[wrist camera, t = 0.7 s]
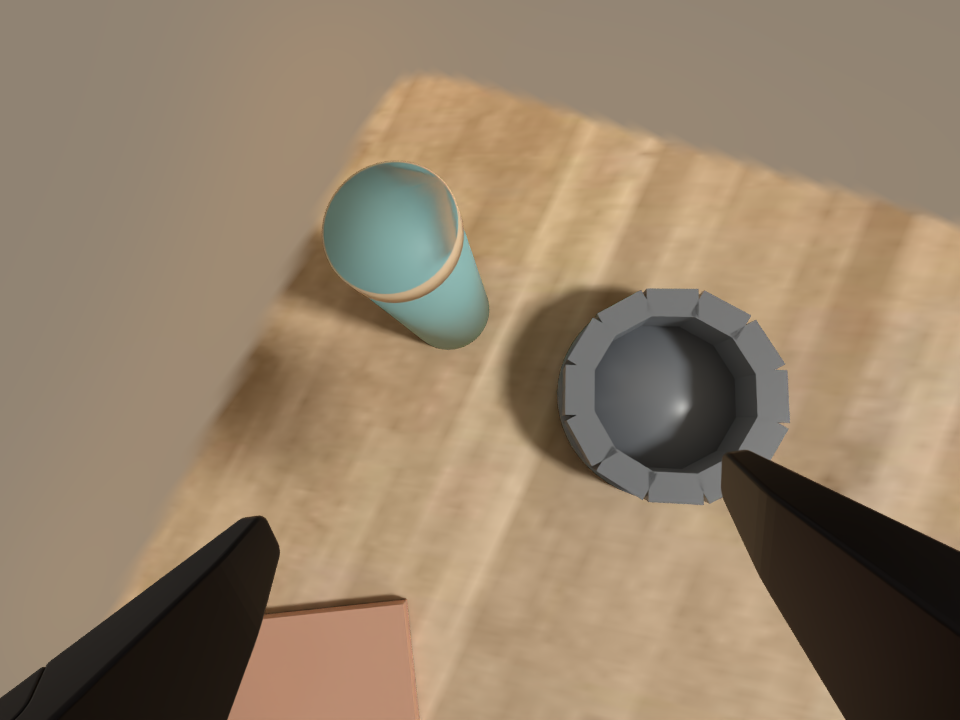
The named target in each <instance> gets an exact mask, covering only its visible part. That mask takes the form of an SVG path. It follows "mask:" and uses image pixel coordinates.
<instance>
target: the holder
mask: <svg viewBox="0 0 960 720" xmlns="http://www.w3.org/2000/svg"><path fill="white" fill-rule="evenodd" d="M750 317H751V315H749V314H747V313H746V312H744V311H742V310H740V309H738V308H736V307H734V306H732V305H731V304H729V303H727V302H725V301H723V300H721V299H719V298H718V297H716V296H714V295H712V294H710V293H708V292H706V291H703V292H702V293H701V294H699V293H698V289H646V290H645V291H644V292H643V293H642V291H641V290H640V291H638V292H636V293H635V294H633V295H631V296H629V297H627V298H625V299H623V300H622V301H620V302H618V303H616V304H614V305H612V306H610V307H609V308H607V309H605V310H603V311H601V312H599V313H597V315H596V316H595V318H592V320H591V322H590V323H589V324H588V325H587V326H586V327H585V328H584V329H583V330H582V331H581V332H580V333H579V335H578V336H577V338H576V339H575V340H574V342H573V343H572V345H571V347H570V349H569V351H568V352H567V354H566V356H565V359H564V361H563V364H562V367H561V370H560V375H559V379H558V389H557V400H558V410H559V415H560V420H561V423H562V426H563V429H564V432H565V434H566V436H567V438H568V440H569V443H570V444H571V446H572V447H573V449H574V450H575V452H576V454H577V455H578V456H579V457H580V459H581V460H582V461H583V462H584V463H585V464H586V465H587V466H588V467H589V468H590V469H591V470H592V471H593V472H594V473H595V474H596V475H598V476H599V477H601V478H602V479H603V480H605V481H606V482H607V483H609V484H611V485H613V486H614V487H616V488H618V489H620V490H622V491H625V492H627V493H630V494H632V495H635V496H637V497H639V498H640V499H642V500H643V498H644V499H645V500H647V501H648V502H659V503H677V504H695V505H704V501H705V502H707V503H712V502H714V501H716V500H718V499H720V498H722V493H721V468H722V457H723V454H724V453H726V452H730V451H737V450H749V451H752V452H754V453H756V454H758V455H760V456H762V457H764V458H766V459H769V460H771V458H772V457H773V455H774V453H775V451H776V450H777V448H778V446H779V445H780V443H781V441H782V439H783V438H784V436H785V434H786V432H787V431H788V428H786V427H784V426H783V425H781V424H779V423H790V414H789V394H788V373H787V370H775V369H777V368H779V367H781V366H783V365H785V363H784V361H783V360H782V358H781V357H780V355H779V354H778V352H777V351H776V349H775V348H774V346H773V345H772V343H771V342H770V340H769V339H768V337H767V336H766V334H765V333H764V331H763V330H762V328H761V327H760V325H759V324H758V322H757V321H756V320H754V321H752V322H750V323H748V324H747V322H748V320H749V319H750Z"/></svg>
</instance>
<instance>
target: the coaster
mask: <svg viewBox="0 0 960 720" xmlns="http://www.w3.org/2000/svg"><path fill="white" fill-rule="evenodd" d="M228 720H419V710H418V701H417V691H416V682H415V672H414V663H413V653H412V644H411V634H410V625H409V615H408V606H407V599H405V600H396V601H386V602H377V603H368V604H358V605H349V606H340V607H331V608H321V609H312V610H303V611H293V612H284V613H275V614H265V615H264V617H263V621H262V624H261V628H260V631H259V634H258V637H257V640H256V643H255V646H254V649H253V651H252V654H251V657H250V660H249V662H248V665H247V668H246V671H245V673H244V676H243V679H242V681H241V684H240V687H239V690H238V692H237V695H236V698H235V701H234V703H233V706H232V709H231V711H230V714H229V717H228Z"/></svg>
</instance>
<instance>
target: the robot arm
mask: <svg viewBox="0 0 960 720" xmlns="http://www.w3.org/2000/svg"><path fill="white" fill-rule="evenodd" d="M721 493H722V497H723V499H724V502H725V504H726V506H727V508H728V510H729V513H730V515H731V517H732V519H733V521H734V523H735V525H736V528H737V530H738V532H739V534H740V536H741V538H742V541H743V543H744V545H745V547H746V549H747V551H748V553H749V556H750V558H751V560H752V562H753V564H754V566H755V568H756V570H757V572H758V574H759V576H760V578H761V580H762V582H763V583H764V585H765V587H766V589H767V590H768V592H769V594H770V595H771V597H772V599H773V600H774V602H775V604H776V605H777V607H778V609H779V610H780V612H781V614H782V615H783V617H784V618H785V620H786V622H787V623H788V625H789V627H790V628H791V630H792V632H793V633H794V635H795V637H796V638H797V640H798V642H799V643H800V645H801V647H802V648H803V650H804V652H805V653H806V655H807V657H808V658H809V660H810V662H811V663H812V665H813V667H814V668H815V670H816V672H817V673H818V675H819V677H820V678H821V680H822V682H823V683H824V685H825V686H826V688H827V690H828V691H829V693H830V695H831V696H832V698H833V700H834V701H835V703H836V705H837V706H838V708H839V710H840V711H841V713H842V715H843V716H844V718H845V720H960V551H958V550H956V549H954V548H952V547H950V546H948V545H946V544H943V543H941V542H939V541H937V540H935V539H933V538H931V537H929V536H927V535H925V534H923V533H921V532H918V531H916V530H914V529H912V528H910V527H908V526H906V525H904V524H902V523H900V522H898V521H896V520H893V519H891V518H889V517H887V516H885V515H883V514H881V513H879V512H877V511H875V510H873V509H871V508H869V507H866V506H864V505H862V504H860V503H858V502H856V501H854V500H852V499H850V498H848V497H846V496H844V495H841V494H839V493H837V492H835V491H833V490H831V489H829V488H827V487H825V486H823V485H821V484H819V483H816V482H814V481H812V480H810V479H808V478H806V477H804V476H802V475H800V474H798V473H796V472H794V471H791V470H789V469H787V468H785V467H783V466H781V465H779V464H777V463H775V462H773V461H771V460H769V459H766V458H764V457H762V456H760V455H758V454H756V453H754V452H752V451H749V450H737V451H730V452H726V453H724V454H723V457H722V468H721ZM279 555H280V549H279V544H278V542H277V540H276V538H275V536H274V534H273V532H272V530H271V527H270V525H269V523H268V521H267V520H266V518H264V517H263V516H252V517H245V518H242V519H240V520H239V521H237V522H236V523H235V524H233V525H232V526H231V527H229V528H228V529H227V530H225V531H224V532H223V533H221V534H220V535H218V536H217V537H216V538H214V539H213V540H212V541H210V542H209V543H208V544H206V545H205V546H204V547H202V548H201V549H200V550H198V551H197V552H196V553H194V554H193V555H192V556H190V557H189V558H188V559H186V560H185V561H184V562H182V563H181V564H180V565H178V566H177V567H176V568H174V569H173V570H172V571H170V572H169V573H168V574H166V575H165V576H164V577H162V578H161V579H160V580H158V581H157V582H156V583H154V584H153V585H152V586H150V587H149V588H148V589H146V590H145V591H143V592H142V593H141V594H139V595H138V596H137V597H135V598H134V599H133V600H131V601H130V602H129V603H127V604H126V605H125V606H123V607H122V608H121V609H119V610H118V611H117V612H115V613H114V614H113V615H111V616H110V617H109V618H107V619H106V620H105V621H103V622H102V623H101V624H99V625H98V626H97V627H95V628H94V629H93V630H91V631H90V632H89V633H87V634H86V635H85V636H83V637H82V638H81V639H79V640H78V641H77V642H75V643H74V644H73V645H71V646H70V647H69V648H67V649H66V650H65V651H63V652H62V653H60V654H59V655H58V656H57V657H55V658H54V659H52V660H51V661H50V662H49V663H48V664H47V665H46V667H42V668H40V669H39V670H38V671H36V672H35V673H33V674H32V675H31V676H29V677H28V678H27V679H25V680H24V681H23V682H21V683H20V684H19V685H17V686H16V687H15V688H13V689H12V690H11V691H9V692H8V693H7V694H5V695H4V696H3V697H1V698H0V720H228V717H229V714H230V711H231V709H232V706H233V703H234V701H235V698H236V695H237V692H238V690H239V687H240V684H241V681H242V679H243V676H244V673H245V671H246V668H247V665H248V662H249V660H250V657H251V654H252V651H253V649H254V646H255V643H256V640H257V637H258V634H259V631H260V628H261V624H262V621H263V617H264V613H265V610H266V606H267V602H268V598H269V594H270V591H271V587H272V583H273V579H274V575H275V572H276V568H277V564H278V560H279Z"/></svg>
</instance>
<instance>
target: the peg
mask: <svg viewBox="0 0 960 720" xmlns="http://www.w3.org/2000/svg"><path fill="white" fill-rule="evenodd" d="M322 241H323V247H324V251H325V254H326V257H327V259H328V261H329V263H330V265H331V267H332V268H333V270H334V271H335V272H336V273H337V275H338V276H339V277H340V278H341V279H342V280H343V281H345V282H346V283H347V284H348V285H350V286H351V287H352V288H354V289H355V290H356V291H358V292H359V293H361V294H362V295H364V296H366V297H368V298H369V299H371V300H372V301H373V302H374V303H376V304H377V305H378V306H380V307H381V308H382V309H383V310H385V311H386V312H387V313H389V314H390V315H391V316H392V317H394V318H395V319H396V320H398V321H399V322H400V323H401V324H403V325H404V326H405V327H407V328H408V329H409V330H410V331H412V332H413V333H414V334H416V335H417V336H418V337H419V338H421V339H422V340H423V341H425V342H426V343H427V344H429V345H431V346H433V347H436V348H439V349H446V350H450V349H458V348H461V347H464V346H466V345H468V344H470V343H471V342H473V341H474V340H475V339H476V338H477V337H478V336H479V335H480V334H481V332H482V331H483V329H484V328H485V326H486V323H487V320H488V316H489V303H488V298H487V295H486V292H485V289H484V286H483V284H482V281H481V278H480V275H479V272H478V269H477V266H476V263H475V260H474V257H473V254H472V251H471V249H470V246H469V243H468V240H467V237H466V234H465V231H464V227H463V221H462V218H461V214H460V211H459V208H458V205H457V202H456V200H455V197H454V195H453V193H452V191H451V190H450V188H449V187H448V185H447V184H446V183H445V182H444V181H443V180H442V179H441V178H440V177H439V176H438V175H437V174H436V173H434V172H432V171H431V170H429V169H428V168H426V167H423V166H421V165H419V164H415V163H412V162H406V161H385V162H380V163H376V164H373V165H370V166H368V167H366V168H363V169H361V170H360V171H358V172H356V173H355V174H353V175H352V176H351V177H349V178H348V179H347V180H346V181H345V182H344V183H343V184H342V185H341V186H340V187H339V188H338V190H337V191H336V192H335V194H334V195H333V197H332V198H331V200H330V202H329V204H328V206H327V209H326V212H325V215H324V219H323V225H322Z"/></svg>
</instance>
